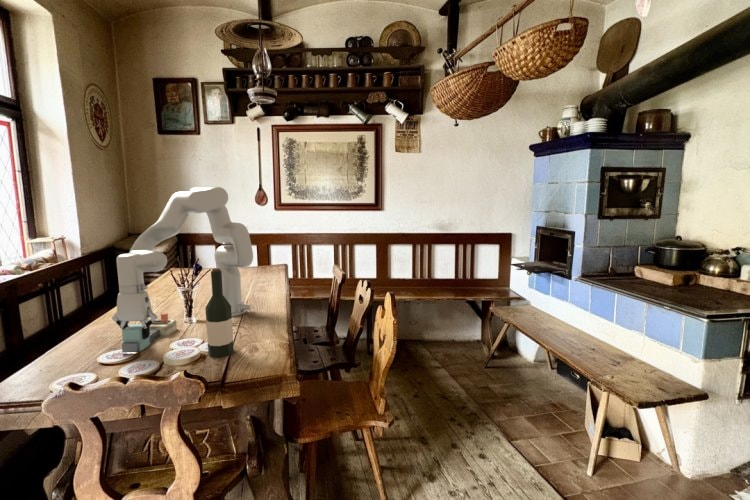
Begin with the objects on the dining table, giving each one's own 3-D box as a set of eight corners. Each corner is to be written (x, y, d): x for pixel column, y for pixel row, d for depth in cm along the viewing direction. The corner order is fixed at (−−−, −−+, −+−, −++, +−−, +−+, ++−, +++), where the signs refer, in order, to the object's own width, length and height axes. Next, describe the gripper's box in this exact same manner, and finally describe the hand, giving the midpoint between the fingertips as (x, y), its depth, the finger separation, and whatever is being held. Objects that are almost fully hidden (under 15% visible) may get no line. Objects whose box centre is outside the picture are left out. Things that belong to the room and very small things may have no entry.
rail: (162, 336, 157) (161, 326, 156) (137, 354, 140) (136, 343, 139) (149, 336, 157) (148, 326, 156) (122, 354, 140) (121, 343, 139)
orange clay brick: (168, 321, 162) (167, 313, 161) (166, 322, 160) (165, 314, 160) (163, 321, 162) (162, 313, 161) (161, 322, 160) (160, 314, 160)
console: (176, 329, 166) (175, 318, 165) (167, 336, 158) (166, 324, 157) (152, 329, 165) (151, 318, 165) (141, 336, 158) (140, 324, 157)
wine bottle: (218, 359, 136) (213, 272, 131) (203, 354, 140) (197, 269, 136) (238, 351, 143) (234, 268, 138) (223, 346, 147) (218, 265, 143)
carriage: (150, 344, 148) (148, 324, 146) (141, 351, 142) (139, 330, 141) (133, 344, 148) (132, 324, 146) (124, 351, 142) (121, 330, 140)
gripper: (162, 286, 145) (166, 334, 148) (113, 286, 145) (118, 334, 148) (151, 291, 138) (155, 342, 140) (100, 291, 138) (105, 342, 140)
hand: (136, 337), depth 144 cm, fingers closed on carriage, 6 cm apart
